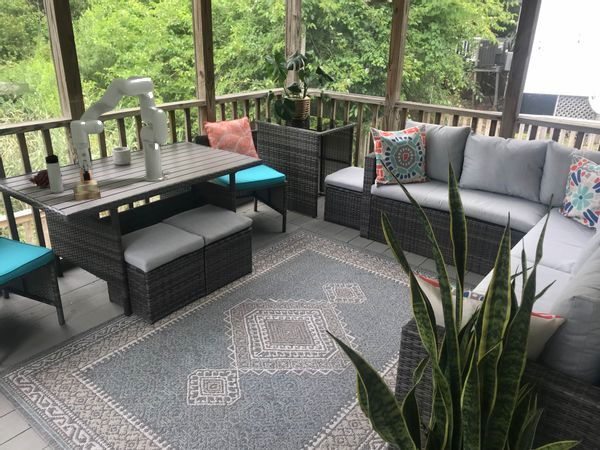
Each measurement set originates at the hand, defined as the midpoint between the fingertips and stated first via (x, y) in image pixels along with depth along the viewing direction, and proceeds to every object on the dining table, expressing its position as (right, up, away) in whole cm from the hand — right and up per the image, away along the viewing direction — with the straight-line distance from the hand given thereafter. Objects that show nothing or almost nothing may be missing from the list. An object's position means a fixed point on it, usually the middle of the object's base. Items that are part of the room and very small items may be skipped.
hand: (86, 178), depth 255 cm
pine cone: (-29, -3, +16) cm, 33 cm away
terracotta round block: (0, -1, 0) cm, 1 cm away
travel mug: (-19, -7, +8) cm, 22 cm away
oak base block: (-1, -10, +3) cm, 10 cm away
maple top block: (0, -6, +2) cm, 6 cm away
